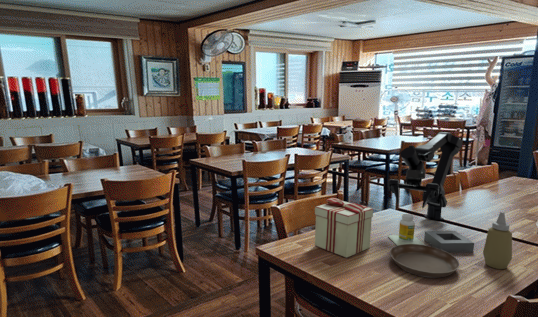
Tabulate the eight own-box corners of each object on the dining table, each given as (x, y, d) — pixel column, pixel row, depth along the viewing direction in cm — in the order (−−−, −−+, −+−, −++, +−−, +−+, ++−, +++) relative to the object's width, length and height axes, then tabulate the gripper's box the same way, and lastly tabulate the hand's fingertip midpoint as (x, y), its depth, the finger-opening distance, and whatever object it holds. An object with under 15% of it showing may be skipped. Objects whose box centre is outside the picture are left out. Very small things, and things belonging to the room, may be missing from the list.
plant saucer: (468, 285, 106) (469, 274, 106) (394, 278, 110) (395, 267, 109) (447, 255, 126) (448, 246, 126) (385, 250, 130) (386, 241, 129)
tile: (387, 236, 142) (387, 235, 142) (412, 236, 143) (412, 234, 143) (398, 246, 133) (398, 245, 132) (424, 246, 133) (424, 244, 133)
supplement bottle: (404, 236, 142) (406, 212, 140) (416, 240, 137) (418, 216, 136) (395, 238, 139) (397, 214, 137) (407, 243, 134) (409, 218, 133)
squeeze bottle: (506, 262, 121) (513, 210, 118) (514, 273, 113) (521, 217, 110) (479, 258, 123) (485, 207, 121) (484, 268, 116) (490, 214, 113)
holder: (424, 239, 140) (424, 230, 139) (454, 239, 140) (455, 230, 140) (440, 252, 128) (441, 243, 127) (473, 252, 129) (474, 242, 128)
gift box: (376, 244, 134) (378, 199, 132) (350, 260, 121) (352, 210, 118) (336, 233, 146) (338, 191, 143) (309, 246, 132) (310, 200, 130)
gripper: (390, 159, 147) (383, 192, 139) (440, 163, 138) (436, 198, 131) (392, 174, 155) (385, 206, 147) (440, 179, 147) (436, 213, 139)
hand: (410, 205), depth 141 cm, fingers open, 9 cm apart
